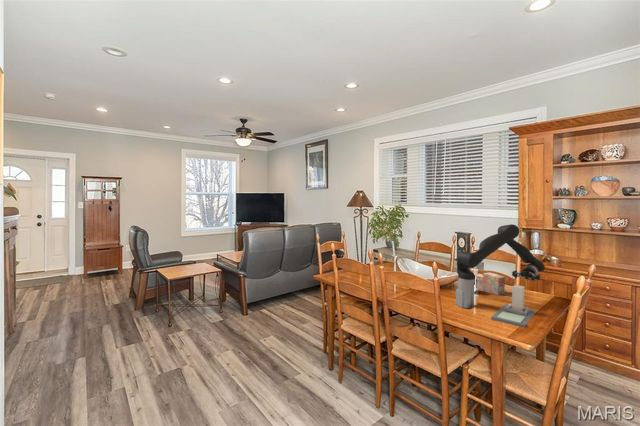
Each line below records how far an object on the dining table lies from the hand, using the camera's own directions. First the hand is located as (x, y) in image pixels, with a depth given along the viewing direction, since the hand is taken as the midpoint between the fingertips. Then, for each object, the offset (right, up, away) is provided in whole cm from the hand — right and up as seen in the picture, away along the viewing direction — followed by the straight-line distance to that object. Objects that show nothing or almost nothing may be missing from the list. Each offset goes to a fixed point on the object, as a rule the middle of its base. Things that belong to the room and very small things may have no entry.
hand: (523, 277), depth 189 cm
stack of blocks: (-3, -16, +36) cm, 39 cm away
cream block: (-8, -17, -7) cm, 20 cm away
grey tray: (-12, -19, -11) cm, 26 cm away
